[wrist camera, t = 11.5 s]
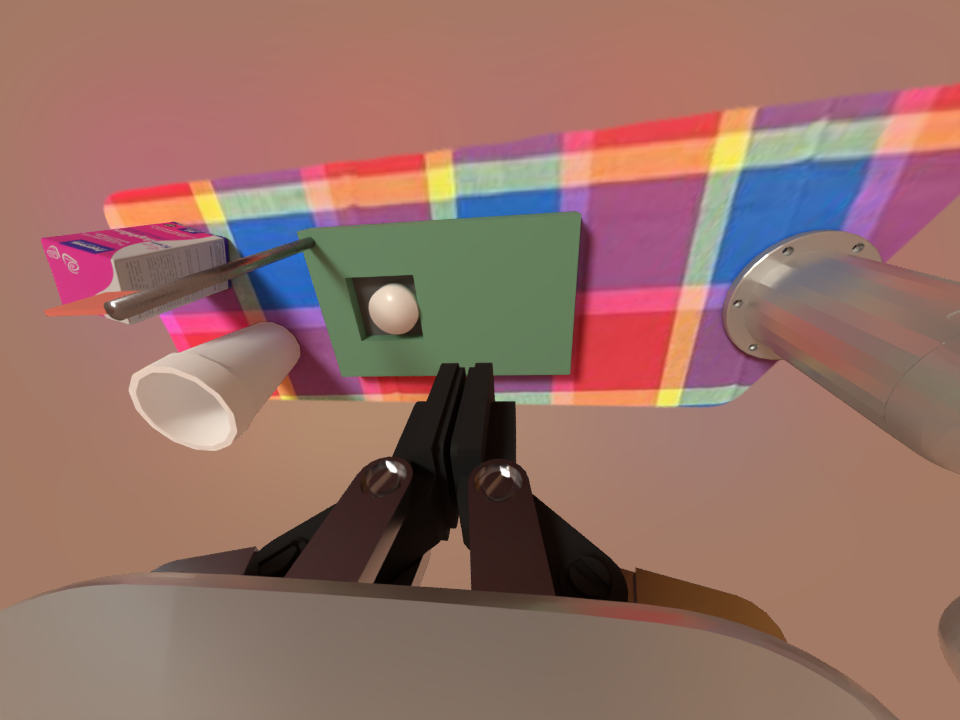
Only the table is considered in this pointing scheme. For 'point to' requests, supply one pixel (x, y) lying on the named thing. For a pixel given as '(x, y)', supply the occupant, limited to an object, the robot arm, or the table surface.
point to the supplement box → (134, 262)
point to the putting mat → (420, 292)
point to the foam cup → (215, 385)
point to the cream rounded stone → (394, 308)
